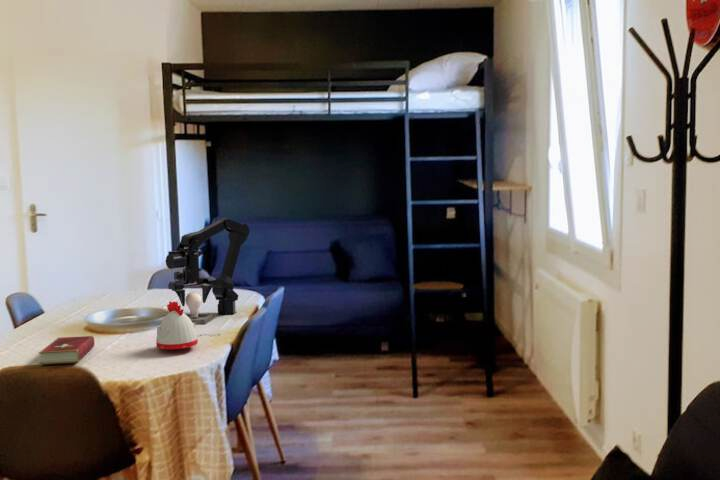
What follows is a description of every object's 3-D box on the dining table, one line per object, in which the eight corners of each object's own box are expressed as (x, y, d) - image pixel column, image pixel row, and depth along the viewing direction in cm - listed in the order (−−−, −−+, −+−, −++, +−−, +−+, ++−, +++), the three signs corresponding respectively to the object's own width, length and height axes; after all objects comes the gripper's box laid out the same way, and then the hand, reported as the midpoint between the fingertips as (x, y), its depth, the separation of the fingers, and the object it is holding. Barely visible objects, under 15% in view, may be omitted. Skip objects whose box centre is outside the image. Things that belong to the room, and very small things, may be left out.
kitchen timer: (181, 337, 263) (179, 296, 262) (205, 342, 255) (203, 300, 253) (148, 345, 253) (146, 303, 251) (172, 351, 244) (170, 307, 243)
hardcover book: (94, 346, 255) (94, 334, 255) (79, 362, 234) (78, 349, 234) (59, 348, 254) (58, 336, 253) (40, 364, 233) (39, 351, 232)
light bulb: (185, 321, 289) (183, 293, 288) (187, 317, 296) (186, 290, 295) (202, 320, 290) (200, 292, 289) (204, 316, 296) (202, 290, 295)
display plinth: (217, 316, 299) (217, 313, 299) (205, 324, 285) (205, 320, 285) (184, 316, 301) (184, 313, 301) (171, 324, 287) (170, 320, 287)
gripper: (202, 261, 303) (204, 298, 304) (160, 266, 291) (162, 305, 292) (216, 263, 295) (218, 302, 296) (174, 269, 282) (176, 309, 284)
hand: (193, 304), depth 292 cm, fingers open, 9 cm apart
